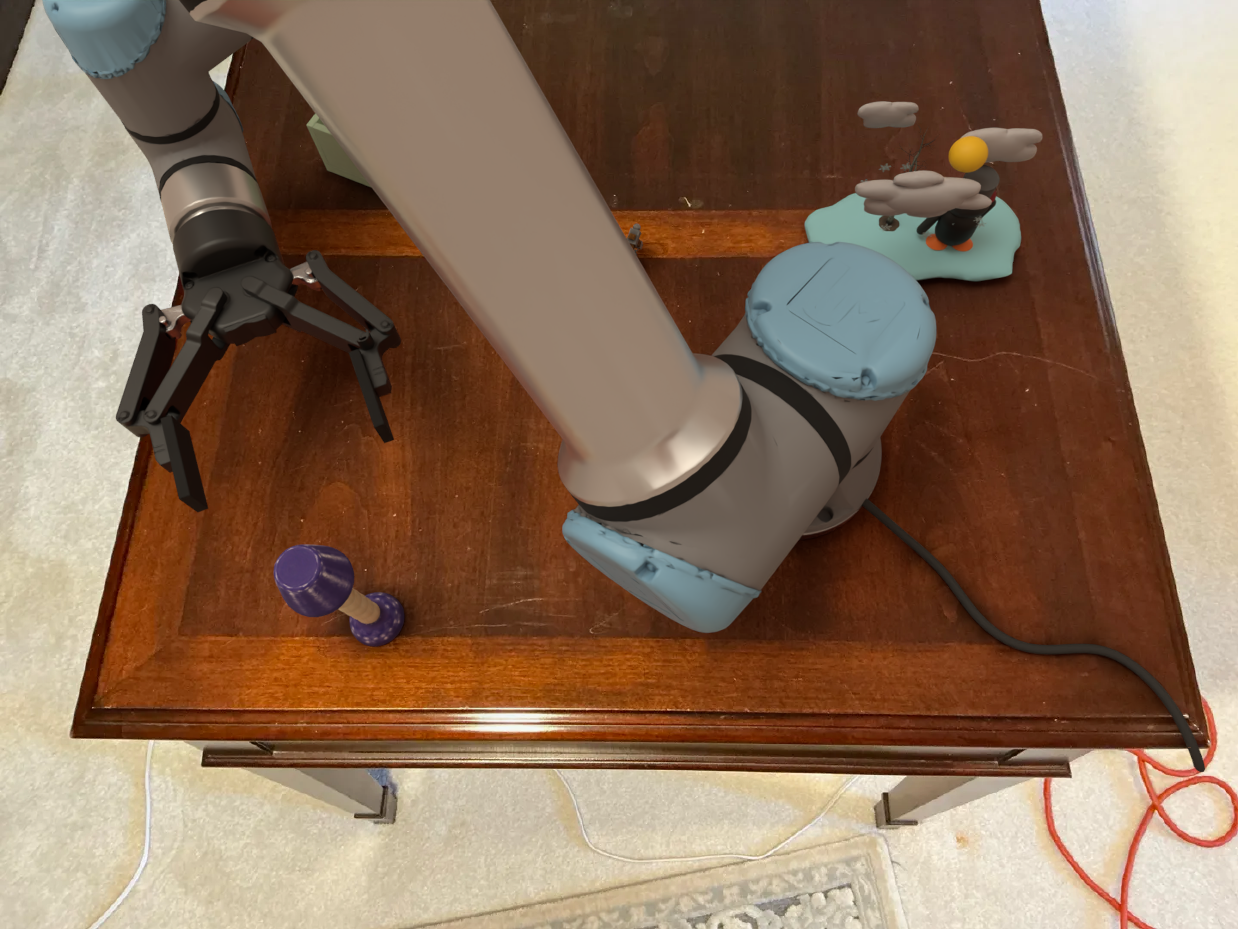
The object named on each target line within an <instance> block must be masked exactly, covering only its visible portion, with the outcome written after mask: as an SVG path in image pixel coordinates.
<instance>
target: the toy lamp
mask: <svg viewBox="0 0 1238 929" xmlns="http://www.w3.org/2000/svg"><path fill="white" fill-rule="evenodd" d="M273 579H274V582H275V585H276V587H277V589H278V591H279V593H280V595H281V596H282V599H283V601H284V602H285V603H286V605H287V606H288V607H289V608H290V609H291V610H292V611H293V612H295V613H297V614H298V615H301V616H303V617H307V618H320V617H325V616H328V615H330V614H332V613H335V612H336V611H340V612H342V613H344V614H345V615H347V616H349V620H348V621H349V628H350V631H351V634H352V635H353V637H354V638H355V639H356V640H357V641H358V642H359V643H361V644H362V645H364V646H368V647H375V648H376V647H382V646H384V645H387V644H389V643H391V642H392V641H393V640H395V638H396V637H398V636H399V635H400V632H401V631H402V629H403V627H404V623H405V609H404V607H403V605H402V603H401V602H400V601H399V599H398V598H397V597H395V596H393V595H392V594H390V593H388V592H382V591H381V592H380V591H379V592H378V591H377V592H371V593H367V594H366V595H365V594H363V593H361V592H359V591H358V590H357V589H356V588H354V585H355V570H354V567H353V564H352V562H351V561H350V559H349V557H347V555H346V554H345V553H343V552H342V551H341V550H339V549H337V548H336V547H332V546H329V545H321V544H308V543H307V544H306V543H305V544H296V545H292V546H290V547H288V548H286V549H285V550H284V551H282V553H280V555H279V556H278V557H277V559H276V561H275V563H274V565H273Z"/></svg>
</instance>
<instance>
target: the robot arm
mask: <svg viewBox="0 0 1238 929" xmlns="http://www.w3.org/2000/svg"><path fill="white" fill-rule="evenodd" d="M41 1H42V6H43V10H44V11H45V15H46V16H47V18H48V20H49V21H50V23H51V24H52V27H53V29H54V30H55V32H56V34H57V35H58V36H59V39H61V41H62V43H63V45H64V46H65V48H66V49H67V50H68V52H69V54H70V56H71V58H72V61H73V62H74V63H75V65H76V66H77V67H78V68H80V70H81V71H82V72H83V73H84V74H85V75H86V77H87V78H88V79H89V81H90V82H91V83H92V85H93V86H94V87H95V88H96V90H97V91H98V93H99V94H100V95H101V96H102V98H103V100H105V101H106V103H107V104H108V105H109V107H110V108H111V110H112V111H113V112H114V113H115V115H116V116H117V117H118V118H119V121H120V122H121V124H122V125H123V126H124V129H125V130H126V133H128V134H129V136H130V137H131V139H132V140H133V142H134V143H135V144H136V145H137V147H138V148H139V150H140V151H141V152H142V154H143V155H144V157H145V158H146V160H147V162H148V164H149V166H150V168H151V170H152V174H153V176H154V182H155V184H156V188H157V192H158V195H159V200H160V204H161V207H162V211H163V216H164V220H165V223H166V227H167V231H168V236H169V239H170V243H171V245H172V250H173V254H174V258H175V262H176V266H177V270H178V274H179V277H180V278H179V279H180V282H181V285H182V289H183V298H182V300H181V304H180V305H174V306H171V307H167V308H163V309H161V308H160V307H159V306H158V305H157V304H155V303H148V304H146V305H145V306H144V307H143V308H142V309H141V319H142V334H141V337H140V340H139V344H138V347H137V350H136V351H135V352H136V353H135V356H134V358H133V362H132V364H131V368H130V370H129V374H128V377H127V380H126V383H125V386H124V390H123V392H122V396H121V399H120V402H119V405H118V408H117V411H116V414H115V420H116V422H118V423H119V424H120V425H121V426H122V427H124V428H125V429H126V430H127V431H129V432H130V433H131V434H132V435H134V436H135V437H137V438H144V437H147V436H148V435H149V437H150V441H151V445H152V450H153V455H154V458H155V461H156V463H157V464H158V465H159V466H160V467H162V468H163V469H164V470H165V471H167V472H168V473H170V474H171V473H172V475H173V479H174V484H175V488H176V492H177V496H178V500H180V501H181V502H182V503H184V504H185V505H187V506H188V507H189V508H191V509H192V510H194V511H195V512H196V513H200V512H203V511H206V510H209V506H208V501H207V497H206V492H205V489H204V485H203V481H202V477H201V473H200V468H199V465H198V464H199V463H198V461H197V456H196V452H195V449H194V448H195V447H194V444H193V440H192V435H191V431H190V430H189V429H188V428H187V427H186V426H184V425H183V424H182V421H183V420H184V419H185V416H186V415H187V413H188V412H189V410H190V408H191V405H192V404H193V402H194V400H195V399H196V397H197V395H198V394H199V392H200V390H201V388H202V386H203V385H204V383H205V381H206V379H207V378H208V376H209V374H210V372H211V370H212V369H213V367H214V365H215V364H216V362H217V361H221V360H222V359H223V358H224V357H225V354H226V352H227V351H228V349H229V347H230V346H231V345H235V346H236V347H240V346H243V345H245V344H248V343H249V342H251V341H253V340H254V339H256V338H260V337H268V336H271V335H274V334H276V333H277V329H279V328H281V326H282V325H283V326H284V327H287V328H289V329H291V330H293V331H294V332H295V331H296V332H298V333H302V332H303V333H304V334H307V335H308V336H311V337H314V338H315V339H317V340H320V341H322V342H323V343H326V344H328V345H330V346H332V347H335V348H336V349H339V350H341V351H343V352H344V353H347V354H348V355H349V358H350V360H351V361H350V362H351V364H352V366H353V369H354V373H355V376H356V378H357V381H358V385H359V388H360V390H361V393H362V396H363V399H364V403H365V405H366V407H367V408H366V409H367V411H368V414H369V417H370V420H371V424H372V425H373V428H374V430H375V431H376V433H377V435H378V436H379V437H380V439H381V440H382V442H383V444H386V443H389V442H392V441H395V438H394V435H393V432H392V429H391V426H390V423H389V421H388V418H387V414H386V411H385V409H384V405H383V403H382V400H381V397H385V396H387V395H390V394H392V391H393V390H392V389H393V385H392V382H391V380H390V377H389V374H388V371H387V369H386V366H385V363H384V359H383V357H384V354H385V353H386V352H387V351H388V350H391V349H397V348H398V347H400V346H401V345H402V338H401V335H400V334H399V331H398V329H397V327H396V325H395V323H394V321H393V320H392V318H390V316H388V315H386V314H385V313H384V312H383V311H381V309H379V307H376V306H375V305H374V304H373V303H372V302H370V301H369V300H368V299H366V297H364V296H363V295H362V294H360V293H359V292H358V291H356V289H355V288H353V287H352V286H351V285H349V284H348V283H347V282H346V281H345V280H343V279H342V278H341V277H339V276H338V275H337V274H336V273H335V272H333V271H332V270H331V269H330V268H329V265H328V263H327V262H326V260H325V258H324V256H323V255H322V252H320V250H318V249H313V250H310V251H308V252H307V253H306V254H305V260H306V261H305V262H303V263H301V264H298V265H295V266H294V267H291V268H288V267H287V266H286V265H285V262H284V259H283V255H282V251H281V250H280V246H279V243H278V240H277V237H276V233H275V232H274V229H273V226H272V221H271V217H270V215H269V212H268V209H267V205H266V203H265V200H264V197H263V193H262V191H261V187H260V184H259V182H258V180H257V177H256V174H255V170H254V166H253V163H252V159H251V157H250V153H249V150H248V146H247V144H246V140H245V136H244V134H243V133H244V128H243V124H242V122H241V120H240V117H239V115H238V113H237V111H236V109H235V107H234V105H233V103H232V101H231V99H230V97H229V95H228V93H227V92H226V91H225V89H224V88H223V87H222V86H221V85H220V84H219V83H217V82H216V81H214V80H213V79H212V77H211V75H210V72H211V71H212V70H213V69H215V68H216V67H218V66H219V65H220V64H221V63H223V62H224V61H225V60H227V59H228V58H229V57H231V56H232V55H233V54H235V53H236V52H237V51H239V50H240V49H241V48H243V47H244V46H245V45H247V44H248V43H249V42H251V41H252V40H253V39H255V40H257V41H259V42H260V43H262V45H263V47H264V48H266V50H267V51H268V53H269V54H270V55H271V57H272V58H273V59H274V60H275V62H276V64H278V66H279V67H280V69H282V71H283V73H284V74H285V75H286V76H287V78H288V79H289V80H290V82H291V83H292V84H293V86H294V87H295V88H296V90H297V91H298V93H300V95H301V96H302V98H303V99H304V100H305V101H306V103H307V104H308V106H309V107H310V108H311V110H312V111H313V113H314V114H315V113H316V115H317V116H318V117H319V118H320V120H321V121H322V122H323V124H324V125H325V126H326V128H327V129H328V130H329V132H330V133H331V134H332V136H333V137H334V138H335V140H336V141H337V142H338V144H339V145H340V146H341V148H342V149H343V150H344V151H345V153H346V154H347V155H348V157H349V158H350V159H351V161H352V162H353V163H354V165H355V166H356V167H357V169H358V170H359V171H360V173H361V174H362V175H363V177H364V178H365V179H366V181H367V182H368V183H369V184H370V186H371V187H372V188H371V187H370V188H371V189H372V190H373V191H374V193H375V194H376V196H378V198H379V199H380V201H381V202H382V203H383V204H384V206H385V207H386V208H387V210H388V211H389V212H390V213H391V215H392V217H393V218H394V219H395V221H396V222H397V223H398V224H399V225H400V227H401V228H402V229H403V231H404V232H405V233H406V235H407V236H408V237H409V239H410V240H411V241H412V243H413V244H414V245H415V247H416V248H417V249H418V250H419V252H420V253H421V255H422V257H424V259H425V260H426V261H427V262H428V264H429V266H430V267H431V268H432V269H433V270H434V272H435V273H436V274H437V276H438V277H439V278H440V279H441V281H442V283H443V284H444V285H445V286H446V287H447V289H448V290H449V291H450V293H451V294H452V296H453V297H454V298H455V299H456V301H457V302H458V304H459V305H460V306H461V307H462V309H463V310H464V311H465V313H466V314H467V315H468V317H469V318H470V320H471V321H472V322H473V323H474V324H475V326H476V327H477V329H478V330H479V331H480V333H481V334H482V335H483V337H484V339H486V341H487V342H488V343H489V344H490V345H491V347H492V348H493V350H494V351H495V352H496V354H497V355H498V356H499V358H500V359H501V360H502V361H503V363H504V364H505V366H506V367H507V368H508V369H509V371H510V372H511V373H512V375H513V376H514V378H515V379H516V380H517V381H518V383H519V384H520V385H521V387H522V388H523V389H524V390H525V392H526V393H527V395H528V396H529V398H531V399H532V401H533V403H534V404H535V405H536V407H537V408H538V409H539V410H540V412H541V414H543V415H544V417H545V418H546V420H547V421H548V422H549V423H550V425H551V426H552V427H553V429H554V430H555V431H556V433H557V434H558V435H559V437H560V438H561V443H560V446H559V449H558V455H557V473H558V476H559V479H560V481H561V483H562V484H563V486H564V487H565V489H566V491H567V492H568V493H569V494H570V496H571V497H572V498H573V499H574V500H575V502H576V503H577V504H578V505H577V506H576V507H575V508H574V509H571V510H570V511H569V512H566V514H567V515H566V519H565V520H564V522H563V524H562V526H561V528H562V530H561V532H562V536H563V537H564V539H565V541H566V542H567V544H568V545H569V546H570V547H571V548H572V549H573V550H574V551H575V552H576V553H577V554H578V555H580V556H581V558H583V559H584V560H585V561H587V562H588V563H589V564H590V565H592V566H593V567H594V568H595V569H597V570H598V571H600V572H601V573H602V574H603V575H605V576H606V577H607V578H608V579H610V580H611V581H612V582H614V583H615V584H617V585H618V586H620V587H621V588H622V589H624V590H625V591H626V592H628V593H629V594H631V595H632V596H634V597H635V598H636V599H638V600H640V601H641V602H643V603H644V604H645V605H647V606H648V607H650V608H652V609H654V610H655V611H657V612H659V613H660V614H662V615H664V616H665V617H667V618H669V619H670V620H671V621H673V622H676V623H677V624H679V625H681V626H683V627H685V628H688V629H690V630H692V631H696V632H699V633H703V634H709V633H717V632H720V631H722V630H725V629H727V628H728V627H729V626H730V625H731V624H732V623H733V622H734V621H735V620H736V619H737V618H738V616H739V615H740V614H741V613H742V612H743V611H744V610H745V608H747V607H748V605H749V604H750V603H751V602H752V600H754V599H756V598H758V597H759V596H760V594H761V593H763V591H762V590H763V588H764V586H765V585H766V584H767V583H768V581H769V580H770V579H771V577H772V576H773V575H774V574H775V572H776V571H777V569H778V568H779V567H780V565H781V564H782V563H783V562H784V560H785V559H786V557H787V556H788V555H789V553H790V552H791V551H792V549H793V548H794V547H795V545H796V544H797V543H798V541H802V540H803V541H804V540H810V539H815V538H818V537H822V536H825V535H827V534H830V533H832V532H834V531H836V530H837V529H840V528H841V527H843V526H844V525H845V524H847V523H848V522H849V521H850V520H851V519H853V518H854V517H855V516H856V515H857V514H858V513H859V511H861V509H862V508H864V509H865V510H866V511H867V512H868V513H870V515H872V516H873V517H874V518H876V520H878V521H879V522H880V523H881V524H882V525H883V526H885V527H886V528H887V529H888V530H890V532H892V533H893V534H894V535H895V536H896V537H898V538H899V539H900V540H901V541H902V543H905V545H907V546H908V547H909V548H910V549H911V550H913V551H914V552H915V553H916V554H917V555H918V556H920V557H921V558H922V559H923V560H924V561H925V562H926V563H927V564H928V565H929V566H930V567H931V568H932V569H933V570H934V571H935V572H936V573H937V574H938V575H939V576H940V577H941V579H942V580H943V581H944V583H945V584H946V586H948V588H949V589H950V590H951V592H952V593H953V595H954V596H955V597H956V599H957V600H958V602H960V604H961V605H962V607H963V608H964V609H965V611H966V613H968V614H969V616H970V617H971V618H972V619H973V620H974V621H975V622H976V623H977V624H978V625H979V626H980V627H981V628H982V629H983V630H984V631H985V632H986V633H987V634H989V635H990V636H992V637H993V638H994V639H995V640H998V641H999V642H1000V643H1002V644H1004V645H1005V646H1008V647H1010V648H1013V649H1015V650H1017V651H1021V652H1025V653H1029V654H1035V655H1068V654H1069V655H1070V654H1089V655H1090V654H1091V655H1098V656H1103V657H1106V658H1109V659H1112V660H1113V661H1116V662H1118V663H1119V664H1121V665H1123V666H1124V667H1126V668H1127V669H1129V670H1130V671H1132V672H1133V673H1134V674H1135V675H1136V676H1138V677H1139V678H1140V679H1141V680H1142V681H1143V682H1144V683H1145V684H1146V685H1147V686H1149V688H1150V689H1151V690H1152V691H1153V692H1154V693H1155V695H1156V696H1157V697H1158V698H1159V700H1160V702H1162V704H1163V706H1164V707H1165V708H1166V710H1167V712H1168V713H1169V714H1170V716H1171V717H1172V720H1173V721H1174V723H1175V725H1176V727H1177V729H1178V730H1179V733H1180V735H1181V737H1182V740H1183V741H1184V744H1185V746H1186V748H1187V751H1188V753H1189V756H1190V759H1191V760H1192V761H1191V762H1192V765H1193V768H1194V769H1195V770H1196V771H1197V772H1199V773H1205V771H1206V766H1205V765H1206V764H1205V762H1204V757H1203V755H1202V753H1201V750H1200V747H1199V745H1198V742H1197V740H1196V737H1195V735H1194V733H1193V731H1192V729H1191V727H1190V725H1189V723H1188V721H1187V720H1186V718H1185V716H1184V714H1183V713H1182V711H1181V709H1180V708H1179V706H1178V705H1177V703H1176V702H1175V700H1174V699H1173V698H1172V696H1171V695H1170V694H1169V692H1168V691H1167V690H1166V689H1165V687H1164V686H1163V685H1162V684H1161V683H1160V682H1159V681H1158V680H1157V679H1156V677H1154V676H1153V675H1152V673H1150V672H1149V671H1148V670H1147V669H1145V668H1144V667H1143V666H1142V665H1140V664H1139V662H1137V661H1135V660H1133V659H1132V658H1131V657H1130V656H1128V655H1126V654H1124V653H1122V652H1121V651H1118V650H1116V649H1113V648H1111V647H1107V646H1106V645H1105V646H1104V645H1100V644H1094V643H1063V644H1061V643H1060V644H1038V643H1030V642H1027V641H1023V640H1020V639H1017V638H1015V637H1013V636H1011V635H1009V634H1007V633H1005V632H1004V631H1003V630H1000V629H999V628H998V627H997V626H995V625H994V624H993V623H992V622H991V621H989V620H988V619H987V617H985V615H983V613H981V612H980V610H979V609H978V608H977V607H976V606H975V604H974V603H973V601H972V600H971V599H970V597H969V596H968V595H967V593H966V592H965V590H964V589H963V588H962V587H961V586H960V584H959V582H957V580H956V578H955V577H953V575H952V574H951V573H950V571H949V570H948V569H947V568H946V567H945V566H944V565H943V563H941V562H940V561H939V559H938V558H936V557H935V556H934V555H933V554H932V553H931V551H929V550H927V549H926V547H924V545H922V544H921V543H920V542H918V541H917V540H916V539H915V538H914V537H913V536H912V535H910V533H908V532H907V531H906V530H905V529H903V528H902V527H901V526H900V525H899V524H898V523H897V522H895V520H893V519H892V518H891V517H890V516H888V514H886V513H885V512H884V511H882V509H880V508H879V507H878V506H877V505H875V503H873V502H872V501H871V500H869V498H870V497H871V495H872V493H873V491H874V490H875V487H876V485H877V483H878V480H879V476H880V472H881V466H882V458H883V457H882V455H883V454H882V453H883V452H882V451H883V450H882V439H881V436H882V435H883V434H884V432H885V430H886V429H887V427H888V426H889V424H890V422H891V421H892V419H894V417H895V415H896V413H897V411H899V409H900V407H901V406H902V404H903V402H904V401H905V399H906V398H907V396H908V395H909V393H910V392H911V390H913V389H914V388H915V387H916V386H917V385H918V384H919V383H920V382H921V381H922V380H923V378H924V376H925V375H926V373H927V371H928V364H929V361H930V359H931V357H932V354H933V352H934V350H935V346H936V341H937V320H936V315H935V313H934V312H933V310H932V309H931V306H930V300H929V297H928V295H927V293H926V292H925V290H924V289H923V287H922V286H921V284H920V283H919V282H918V281H916V280H915V279H914V277H913V276H912V275H911V274H910V273H909V272H907V271H906V270H905V269H904V268H903V267H902V266H900V265H899V264H898V263H896V262H895V261H893V260H891V259H890V258H888V257H886V256H885V255H883V254H881V253H879V252H877V251H874V250H872V249H869V248H866V247H863V246H860V245H856V244H852V243H846V242H835V243H833V244H824V243H822V242H811V243H809V242H806V243H802V244H797V245H795V246H793V247H790V248H788V249H787V250H784V251H782V252H780V253H778V254H777V255H775V256H774V257H773V258H772V259H771V260H769V261H768V262H767V263H766V264H765V265H764V266H763V268H761V270H760V271H759V273H758V275H757V276H756V278H755V280H754V282H752V284H751V287H750V288H751V289H750V290H749V291H747V297H746V298H745V306H744V312H745V313H744V315H743V316H742V318H741V319H740V321H739V322H738V324H737V325H736V327H735V328H734V329H733V330H732V331H731V332H730V333H729V335H727V337H726V338H725V339H724V341H722V343H721V344H720V345H719V346H718V347H717V349H715V350H714V352H713V353H712V354H711V355H710V354H705V353H694V352H693V351H692V350H691V347H690V346H689V344H688V342H687V341H686V339H685V337H684V336H683V334H682V332H681V331H680V329H679V327H678V325H677V323H676V322H675V320H674V318H673V317H672V315H671V314H670V311H669V310H668V308H667V306H666V304H665V303H664V301H663V299H662V297H661V296H660V294H659V292H658V290H657V289H656V287H655V284H653V281H651V278H650V276H649V275H648V272H647V271H646V269H645V268H644V266H643V264H642V262H641V261H640V259H639V257H638V256H636V254H637V253H636V254H635V252H634V250H633V249H632V247H631V245H630V243H629V242H628V240H627V236H626V235H625V233H624V231H623V229H622V228H621V226H620V224H619V222H618V220H617V219H616V217H615V216H614V214H613V212H612V210H611V209H610V207H609V205H608V203H607V201H606V200H605V197H604V196H603V194H602V193H601V191H600V189H599V188H598V186H597V184H596V182H595V181H594V179H593V177H592V176H591V173H590V172H589V170H588V168H587V166H586V164H585V163H584V161H583V160H582V158H581V156H580V154H579V153H578V151H577V149H576V148H575V146H574V144H573V143H572V141H571V139H570V137H569V135H568V134H567V132H566V130H565V128H564V126H563V125H562V123H561V121H560V120H559V118H558V116H557V115H556V113H555V111H554V109H553V108H552V106H551V104H550V103H549V100H548V98H547V97H546V95H545V93H544V92H543V90H542V88H541V86H540V85H539V83H538V81H537V80H536V78H535V76H534V74H533V73H532V71H531V69H530V67H529V66H528V63H527V62H526V61H525V59H524V57H523V55H522V53H521V52H520V50H519V48H518V46H517V45H516V43H515V41H514V40H513V38H512V36H511V34H510V33H509V31H508V29H507V27H506V26H505V24H504V22H503V20H502V18H501V17H500V15H499V13H498V11H497V10H496V7H494V5H493V3H492V1H491V0H41ZM300 285H305V286H307V287H308V288H309V289H311V290H314V291H316V292H321V291H323V293H324V295H325V296H326V297H327V298H328V299H329V300H330V301H331V302H332V303H333V304H334V305H336V306H337V307H338V308H340V309H341V310H342V311H344V312H345V313H346V314H347V315H348V316H349V317H350V318H352V319H353V320H354V321H356V322H357V323H358V324H359V325H361V326H362V327H363V328H364V330H362V329H359V328H357V327H356V326H354V325H351V324H349V323H347V322H344V321H342V320H341V319H338V318H336V317H334V316H333V315H330V314H327V313H325V312H323V311H321V310H319V309H316V308H315V307H312V306H310V305H308V304H306V303H303V302H302V301H300V300H299V299H298V298H296V295H297V293H298V291H299V286H300ZM187 323H190V324H189V326H188V327H187V330H186V331H185V337H186V339H185V341H184V344H183V346H182V347H181V349H180V350H179V352H178V354H177V356H176V357H175V356H174V355H175V351H176V345H177V344H176V342H177V341H176V340H179V339H181V337H182V336H183V335H182V333H181V332H182V328H183V326H185V325H186V324H187ZM209 335H210V336H212V338H211V337H210V336H209ZM174 357H175V359H174ZM173 359H174V361H173ZM1188 747H1191V748H1188Z"/></svg>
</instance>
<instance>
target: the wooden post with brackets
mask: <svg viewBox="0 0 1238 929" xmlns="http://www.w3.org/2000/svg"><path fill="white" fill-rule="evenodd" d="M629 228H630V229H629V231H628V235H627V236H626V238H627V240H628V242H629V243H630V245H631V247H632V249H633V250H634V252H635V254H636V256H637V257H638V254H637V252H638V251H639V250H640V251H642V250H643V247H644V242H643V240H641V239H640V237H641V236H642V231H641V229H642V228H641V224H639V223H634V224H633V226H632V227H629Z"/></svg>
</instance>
